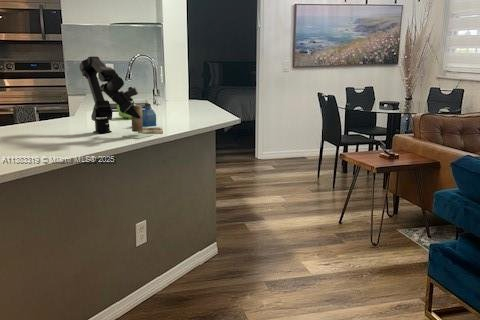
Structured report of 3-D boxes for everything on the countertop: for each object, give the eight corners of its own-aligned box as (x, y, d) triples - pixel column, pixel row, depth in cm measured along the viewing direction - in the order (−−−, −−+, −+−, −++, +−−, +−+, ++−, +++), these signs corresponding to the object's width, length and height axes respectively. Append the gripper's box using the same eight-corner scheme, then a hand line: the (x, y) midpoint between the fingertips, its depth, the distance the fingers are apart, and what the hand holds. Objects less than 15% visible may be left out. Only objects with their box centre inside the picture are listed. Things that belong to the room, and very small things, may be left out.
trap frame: (140, 133, 225) (140, 131, 225) (140, 129, 236) (140, 127, 235) (162, 133, 227) (162, 131, 227) (162, 129, 238) (162, 127, 237)
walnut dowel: (129, 131, 217) (129, 106, 214) (136, 129, 221) (136, 105, 219) (137, 132, 215) (137, 106, 212) (144, 130, 219) (144, 105, 216)
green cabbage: (116, 117, 276) (115, 101, 274) (135, 116, 282) (134, 100, 279) (121, 120, 266) (120, 103, 264) (140, 119, 271) (140, 102, 269)
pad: (122, 136, 217) (122, 135, 217) (136, 133, 225) (136, 132, 225) (138, 139, 212) (138, 138, 212) (152, 135, 221) (152, 134, 221)
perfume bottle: (149, 124, 253) (149, 102, 251) (156, 125, 249) (155, 103, 246) (140, 125, 249) (139, 103, 246) (146, 127, 245) (145, 104, 242)
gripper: (126, 83, 203) (151, 107, 208) (127, 80, 221) (151, 102, 225) (108, 100, 203) (134, 124, 208) (111, 96, 221) (135, 118, 226)
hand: (139, 117), depth 217 cm, fingers closed on walnut dowel, 5 cm apart
